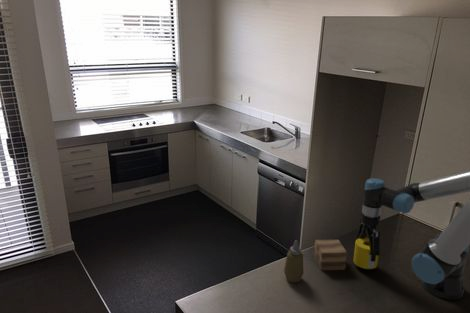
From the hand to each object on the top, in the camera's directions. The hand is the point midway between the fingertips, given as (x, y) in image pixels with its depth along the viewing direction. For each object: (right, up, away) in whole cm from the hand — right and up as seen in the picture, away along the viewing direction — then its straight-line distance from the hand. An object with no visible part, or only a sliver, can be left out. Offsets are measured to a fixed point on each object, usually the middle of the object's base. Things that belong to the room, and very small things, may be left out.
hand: (365, 260), depth 160 cm
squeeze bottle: (-34, -6, -9) cm, 35 cm away
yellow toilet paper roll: (0, -1, 0) cm, 2 cm away
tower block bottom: (-15, -2, +3) cm, 16 cm away
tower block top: (-15, +2, +2) cm, 16 cm away
